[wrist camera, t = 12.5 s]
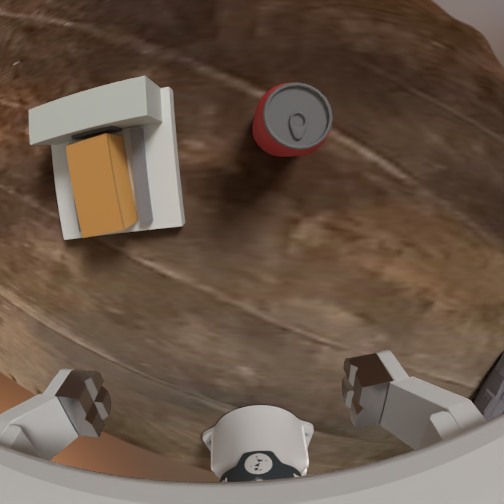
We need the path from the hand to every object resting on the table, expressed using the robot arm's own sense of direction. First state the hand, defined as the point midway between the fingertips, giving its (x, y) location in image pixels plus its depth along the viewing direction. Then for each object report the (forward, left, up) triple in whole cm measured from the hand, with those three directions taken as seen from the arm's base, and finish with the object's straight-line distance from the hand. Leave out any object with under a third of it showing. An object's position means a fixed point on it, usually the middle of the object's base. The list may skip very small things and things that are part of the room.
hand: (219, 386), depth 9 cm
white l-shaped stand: (+8, +14, -29) cm, 33 cm away
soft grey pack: (-37, -53, -30) cm, 71 cm away
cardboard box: (+6, +14, -27) cm, 31 cm away
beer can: (+10, -6, -29) cm, 32 cm away
